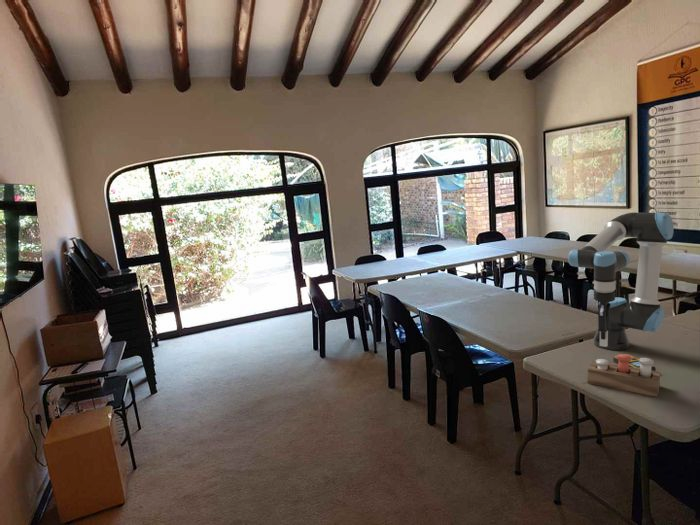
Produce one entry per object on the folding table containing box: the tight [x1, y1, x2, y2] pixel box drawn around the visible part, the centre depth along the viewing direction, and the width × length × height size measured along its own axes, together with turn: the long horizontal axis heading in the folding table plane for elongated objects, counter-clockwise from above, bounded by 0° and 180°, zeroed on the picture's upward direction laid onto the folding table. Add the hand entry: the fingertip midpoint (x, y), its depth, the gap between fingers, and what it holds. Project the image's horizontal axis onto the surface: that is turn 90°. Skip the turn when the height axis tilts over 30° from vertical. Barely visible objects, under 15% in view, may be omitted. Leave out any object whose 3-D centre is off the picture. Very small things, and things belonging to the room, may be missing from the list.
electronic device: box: [612, 353, 657, 371], centre depth 200 cm, size 8×16×3 cm, turn 10°
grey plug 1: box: [595, 358, 610, 370], centre depth 189 cm, size 5×5×8 cm
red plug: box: [616, 353, 631, 374], centre depth 184 cm, size 5×5×8 cm
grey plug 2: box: [638, 357, 654, 378], centre depth 180 cm, size 5×5×8 cm
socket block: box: [587, 360, 661, 397], centre depth 185 cm, size 10×24×6 cm, turn 52°
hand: (603, 345), depth 188 cm, fingers closed
